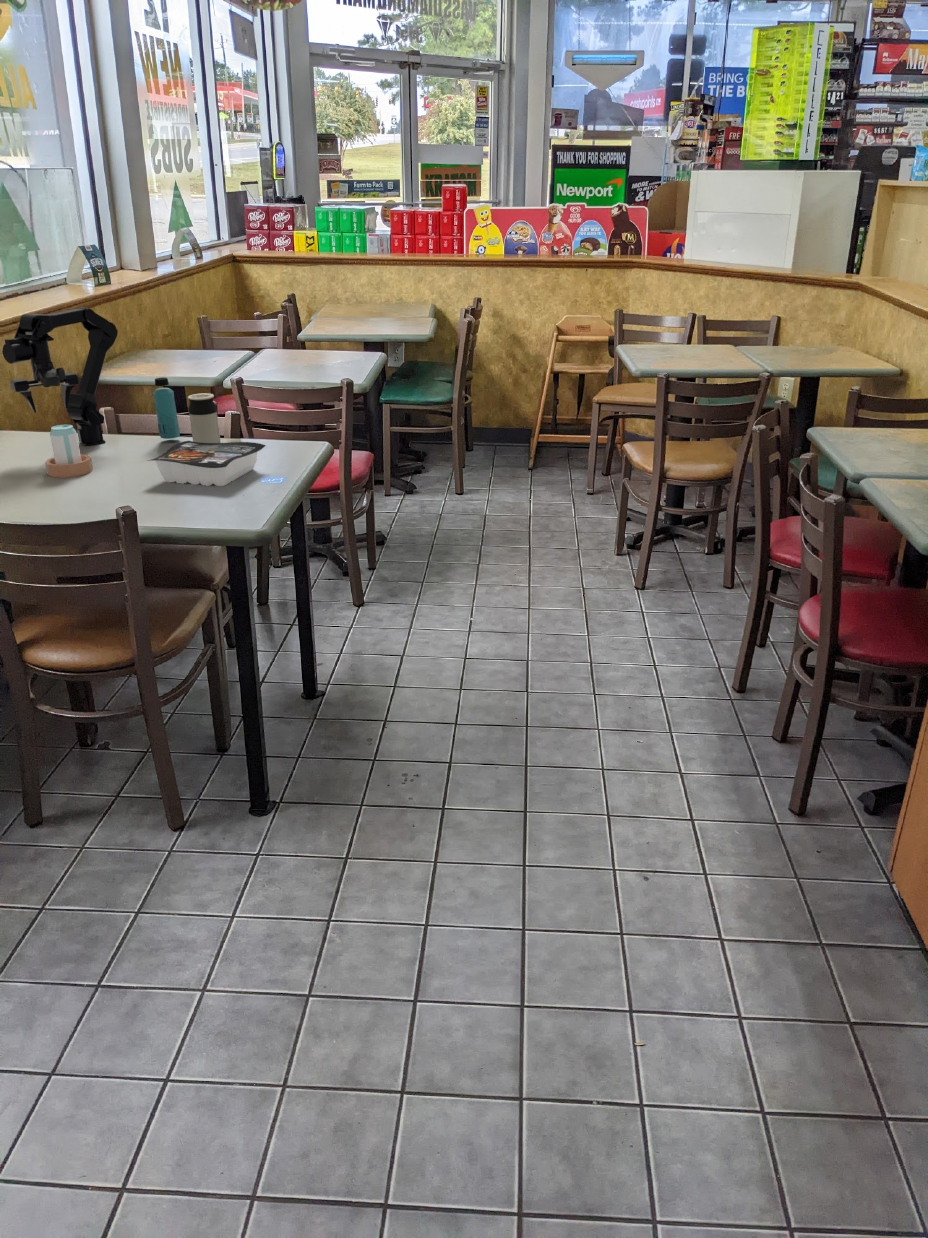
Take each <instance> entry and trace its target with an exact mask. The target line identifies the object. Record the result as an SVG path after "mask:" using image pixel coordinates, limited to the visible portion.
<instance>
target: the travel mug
mask: <svg viewBox="0 0 928 1238" xmlns="http://www.w3.org/2000/svg"><path fill="white" fill-rule="evenodd" d="M214 397H215V395H214V394H213V393H206V392H205V393H201V392H200V393H194V394H190V395H188V396H187V399H188V400H189V406H188V414H189V420H190V421H189V422H190V423H189V424H190V427H191V434H192V435H191V436H192V441H193V442H199V443H222V442H221V436H220V435H221V434H220V426H219V419H218V410H217V405H216V404H215V402H214Z"/></svg>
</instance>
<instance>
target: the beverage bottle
mask: <svg viewBox="0 0 928 1238" xmlns="http://www.w3.org/2000/svg"><path fill="white" fill-rule="evenodd" d="M169 385H170V383H169V378H167V377H163V376H162V377H157V378H155V379H154V386H155V387H160V388H156V389H155V390H154V391H153V393H152V395H153V400H154V407H155V412H156V413H155V414H156V418H157V419H156V421H157V428H158V429H157V430H158V434H159V437H160V438H161V439H163V440H169V439H176V438H179V437H180V436H181V433H180V432H181V431H180V427H179V419H178V413H177V407H176V400H175V395H174V392H175V391H174V390H172V389H171V388H169V387H165V386H169Z"/></svg>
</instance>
